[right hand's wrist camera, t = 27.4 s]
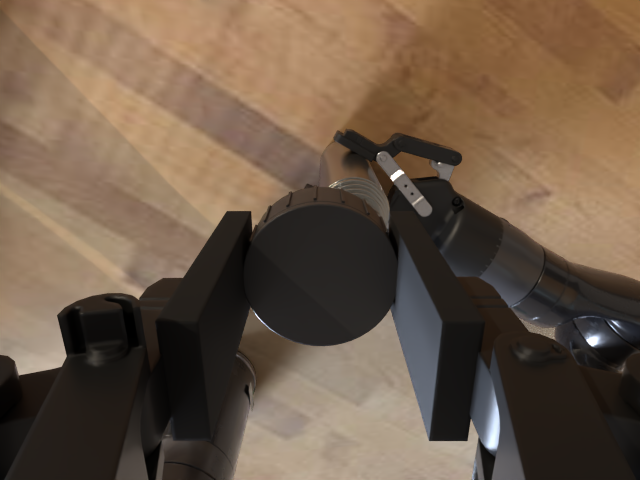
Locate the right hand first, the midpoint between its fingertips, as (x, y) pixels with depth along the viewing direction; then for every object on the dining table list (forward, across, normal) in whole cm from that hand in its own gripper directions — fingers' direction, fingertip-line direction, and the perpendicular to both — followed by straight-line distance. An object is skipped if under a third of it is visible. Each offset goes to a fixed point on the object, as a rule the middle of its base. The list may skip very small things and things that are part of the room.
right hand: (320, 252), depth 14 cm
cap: (-2, 0, 0) cm, 2 cm away
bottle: (+32, +2, -4) cm, 33 cm away
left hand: (+26, 0, -2) cm, 26 cm away
